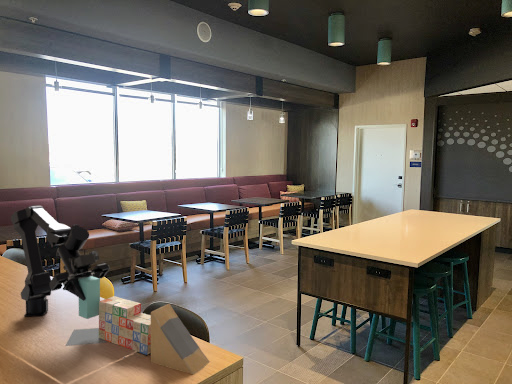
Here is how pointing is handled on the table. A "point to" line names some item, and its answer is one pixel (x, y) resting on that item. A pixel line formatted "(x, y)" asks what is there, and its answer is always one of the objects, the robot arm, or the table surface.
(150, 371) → the table surface
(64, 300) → the table surface
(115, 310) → the stack of blocks
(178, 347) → the sandwich container
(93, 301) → the teal block
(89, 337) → the charcoal mat
